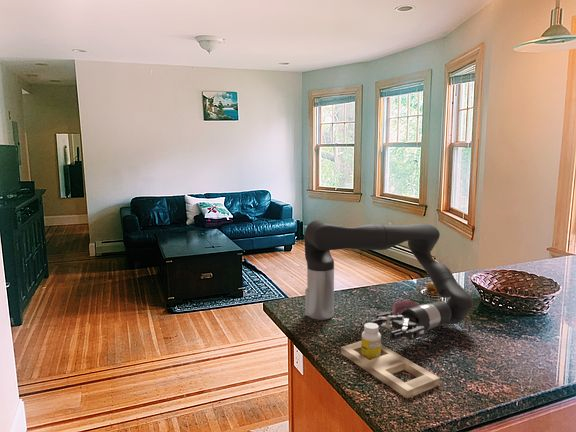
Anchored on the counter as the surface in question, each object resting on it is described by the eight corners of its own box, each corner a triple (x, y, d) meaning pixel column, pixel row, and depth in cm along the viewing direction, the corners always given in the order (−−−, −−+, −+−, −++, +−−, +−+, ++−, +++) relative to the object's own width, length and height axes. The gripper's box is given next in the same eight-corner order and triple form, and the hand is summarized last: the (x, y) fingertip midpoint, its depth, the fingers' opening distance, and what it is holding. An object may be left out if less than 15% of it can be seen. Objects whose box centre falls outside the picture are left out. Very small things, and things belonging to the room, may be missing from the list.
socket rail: (340, 353, 126) (340, 347, 126) (370, 344, 131) (370, 338, 131) (407, 398, 104) (407, 390, 104) (439, 385, 109) (439, 377, 109)
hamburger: (414, 289, 180) (414, 277, 179) (443, 290, 179) (444, 277, 178) (420, 300, 168) (421, 286, 167) (452, 300, 167) (453, 287, 166)
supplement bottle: (359, 354, 126) (359, 321, 124) (377, 353, 126) (378, 321, 124) (363, 363, 120) (364, 330, 119) (383, 362, 121) (384, 329, 119)
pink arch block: (421, 322, 150) (422, 301, 152) (421, 321, 146) (422, 300, 148) (392, 318, 154) (393, 298, 155) (391, 317, 149) (392, 297, 151)
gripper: (404, 299, 137) (363, 309, 129) (440, 314, 125) (398, 327, 117) (403, 321, 138) (363, 333, 130) (439, 339, 126) (397, 353, 118)
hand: (380, 330), depth 124 cm, fingers open, 8 cm apart
